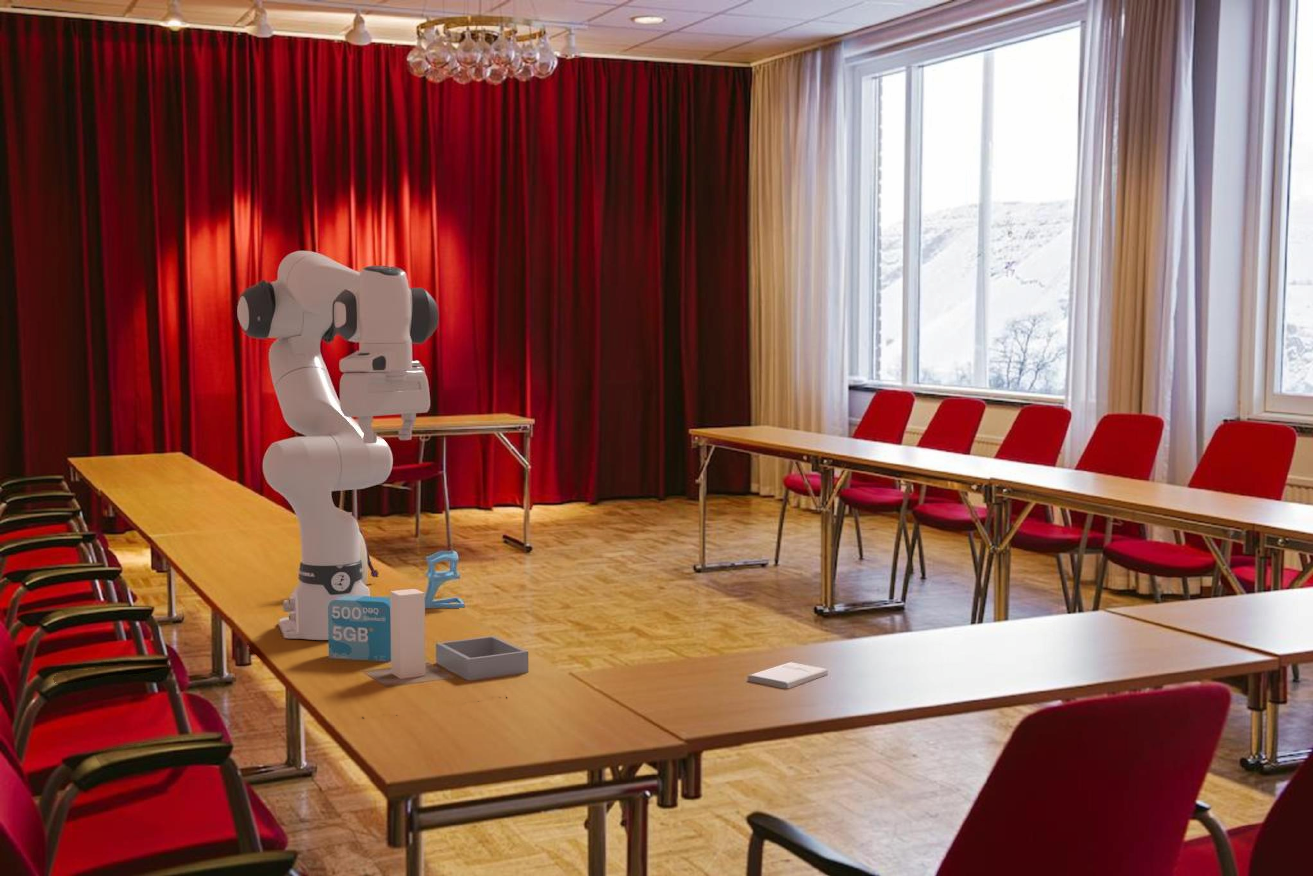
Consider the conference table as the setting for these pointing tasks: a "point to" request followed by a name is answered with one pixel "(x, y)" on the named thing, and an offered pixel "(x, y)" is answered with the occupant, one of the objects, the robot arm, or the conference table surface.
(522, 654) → the bin
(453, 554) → the light blue frame stand
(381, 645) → the data package
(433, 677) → the stud plate
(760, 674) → the external hard drive
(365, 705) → the conference table surface
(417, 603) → the strut
